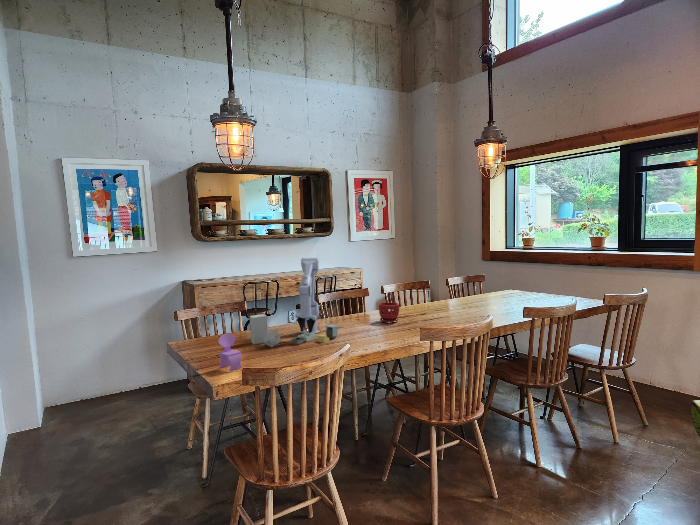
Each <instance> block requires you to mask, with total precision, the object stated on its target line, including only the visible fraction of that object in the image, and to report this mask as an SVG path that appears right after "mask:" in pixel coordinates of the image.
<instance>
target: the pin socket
mask: <svg viewBox="0 0 700 525" xmlns="http://www.w3.org/2000/svg"><path fill="white" fill-rule="evenodd" d="M290 343H291V344H295V345H299V344H302V343H306V342H305V341H304V338H299V337H298V336H297V337H294V338H291V339H290Z"/></svg>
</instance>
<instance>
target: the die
mask: <svg viewBox="0 0 700 525" xmlns="http://www.w3.org/2000/svg"><path fill="white" fill-rule="evenodd" d="M263 342H264V343H263V344H265V345H266V346H267V347H270V348H275V347H277V345H278V344H279V343H280V342H281V334H280V333H279V332H278V331H277V330H274V329H270V330H268V331H267V332H266V333H265V335H264V336H263Z"/></svg>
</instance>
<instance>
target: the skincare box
mask: <svg viewBox="0 0 700 525" xmlns="http://www.w3.org/2000/svg"><path fill="white" fill-rule="evenodd" d="M249 325H250V326H249V327H250V328H249V329H250V341H251V343H252V344H253V345H259V344H265V343H264V342H263V336H264V335H265V333H266V332H267V331H269V330H268V316H267V315H266V314H265V313H261V314H255V315H254V314H253V315H249Z"/></svg>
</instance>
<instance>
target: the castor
mask: <svg viewBox="0 0 700 525" xmlns="http://www.w3.org/2000/svg"><path fill="white" fill-rule="evenodd" d="M325 330H326V331H325V335H326V336H327V337H328V338H329V339H334V340H335V339H336V338H337V336H338V325H337V324H328V325H325Z"/></svg>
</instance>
